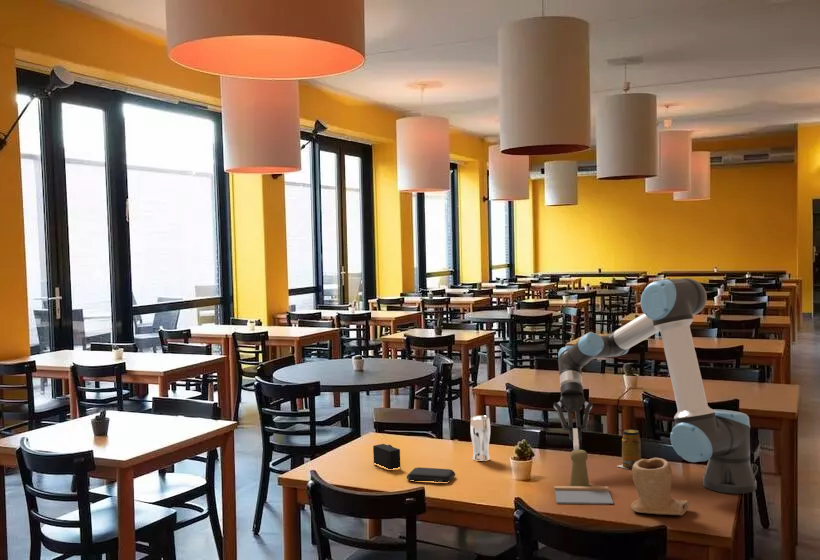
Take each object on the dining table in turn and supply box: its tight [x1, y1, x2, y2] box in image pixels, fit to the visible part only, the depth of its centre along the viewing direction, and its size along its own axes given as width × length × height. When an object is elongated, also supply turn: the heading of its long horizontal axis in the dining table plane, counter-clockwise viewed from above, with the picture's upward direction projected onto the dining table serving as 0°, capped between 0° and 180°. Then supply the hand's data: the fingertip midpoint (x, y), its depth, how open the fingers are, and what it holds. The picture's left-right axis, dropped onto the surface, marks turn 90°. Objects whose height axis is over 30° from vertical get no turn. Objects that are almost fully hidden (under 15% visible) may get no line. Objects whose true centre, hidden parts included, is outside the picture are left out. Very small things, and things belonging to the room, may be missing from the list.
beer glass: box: [470, 415, 491, 461], centre depth 278 cm, size 7×7×15 cm
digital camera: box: [372, 443, 401, 469], centre depth 273 cm, size 10×5×7 cm, turn 36°
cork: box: [569, 449, 590, 486], centre depth 245 cm, size 6×6×11 cm
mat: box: [553, 485, 614, 505], centre depth 234 cm, size 13×16×1 cm
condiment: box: [617, 429, 642, 470], centre depth 264 cm, size 7×8×12 cm
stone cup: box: [630, 457, 690, 516], centre depth 218 cm, size 15×12×15 cm
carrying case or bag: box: [406, 466, 456, 482], centre depth 256 cm, size 11×3×15 cm
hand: (576, 448), depth 254 cm, fingers closed
